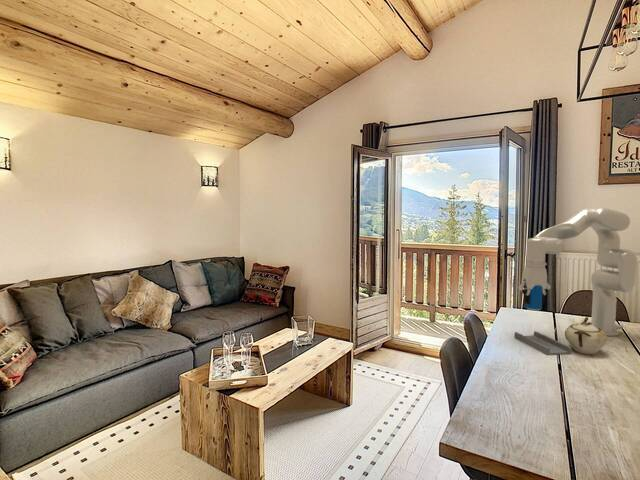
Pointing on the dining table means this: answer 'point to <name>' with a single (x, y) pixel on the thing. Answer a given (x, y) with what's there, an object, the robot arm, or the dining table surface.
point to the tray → (544, 344)
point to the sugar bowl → (585, 337)
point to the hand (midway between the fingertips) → (533, 302)
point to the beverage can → (535, 298)
